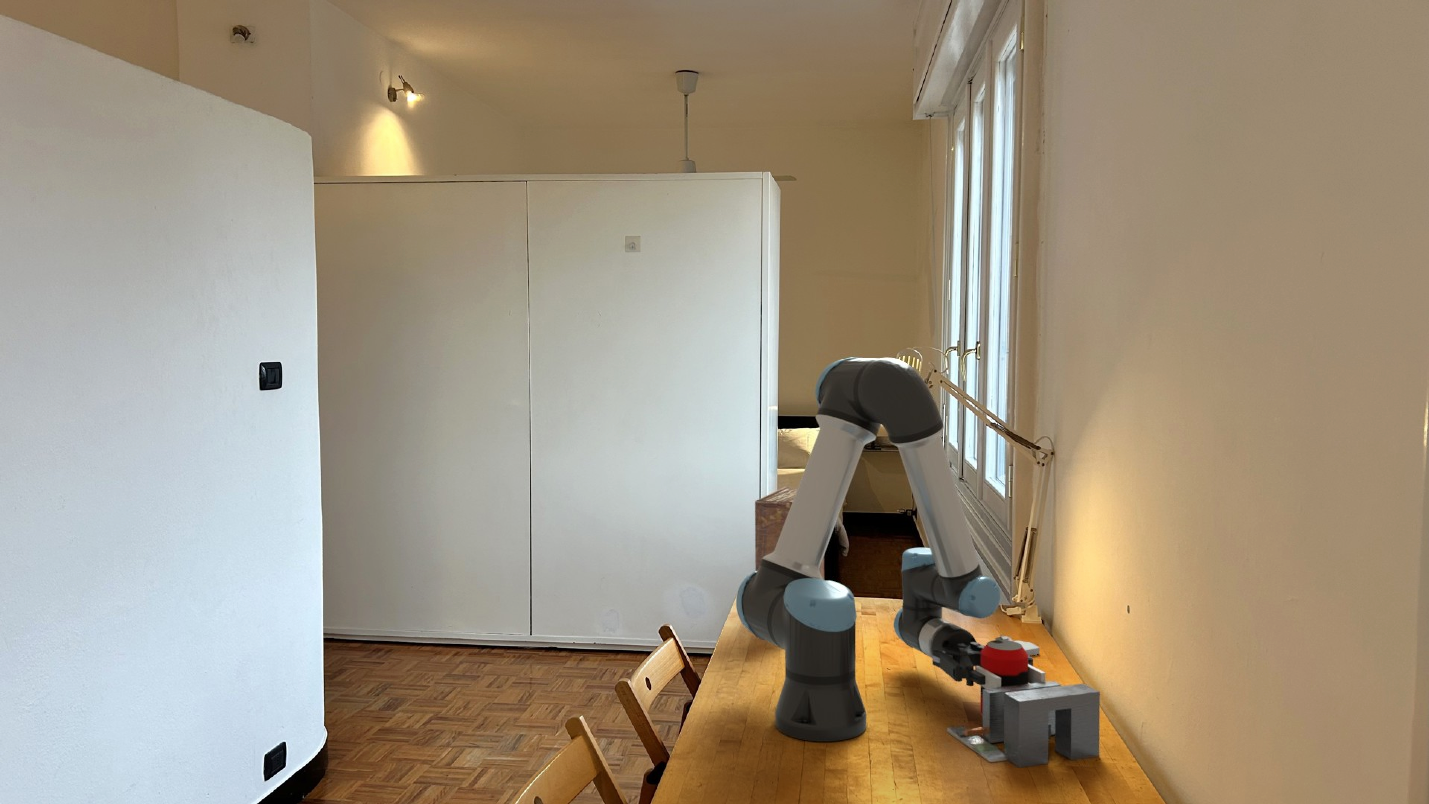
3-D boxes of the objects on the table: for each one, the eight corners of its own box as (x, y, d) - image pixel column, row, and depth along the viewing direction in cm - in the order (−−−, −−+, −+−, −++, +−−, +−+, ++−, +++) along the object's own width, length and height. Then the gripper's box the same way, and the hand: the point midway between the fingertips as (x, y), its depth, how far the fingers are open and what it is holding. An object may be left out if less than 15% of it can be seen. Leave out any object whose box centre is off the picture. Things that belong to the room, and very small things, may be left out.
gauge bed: (1001, 770, 150) (1001, 703, 149) (947, 731, 165) (947, 671, 164) (1099, 756, 154) (1099, 691, 154) (1037, 719, 170) (1037, 661, 169)
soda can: (1008, 705, 173) (1008, 636, 172) (1037, 720, 166) (1038, 648, 165) (971, 711, 170) (971, 641, 169) (999, 727, 163) (1000, 654, 162)
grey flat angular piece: (1001, 642, 216) (1001, 625, 216) (1046, 654, 207) (1046, 636, 207) (964, 653, 209) (964, 635, 209) (1010, 666, 200) (1010, 647, 200)
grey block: (986, 758, 153) (986, 706, 153) (962, 741, 160) (962, 691, 160) (1080, 745, 158) (1080, 694, 158) (1053, 729, 165) (1053, 680, 164)
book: (787, 609, 244) (786, 485, 243) (824, 612, 241) (824, 487, 239) (755, 637, 220) (754, 500, 219) (796, 641, 217) (795, 502, 216)
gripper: (997, 659, 188) (1075, 699, 166) (898, 670, 182) (965, 713, 160) (997, 619, 187) (1075, 654, 166) (898, 629, 182) (965, 667, 160)
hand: (1021, 683), depth 163 cm, fingers closed on soda can, 7 cm apart
